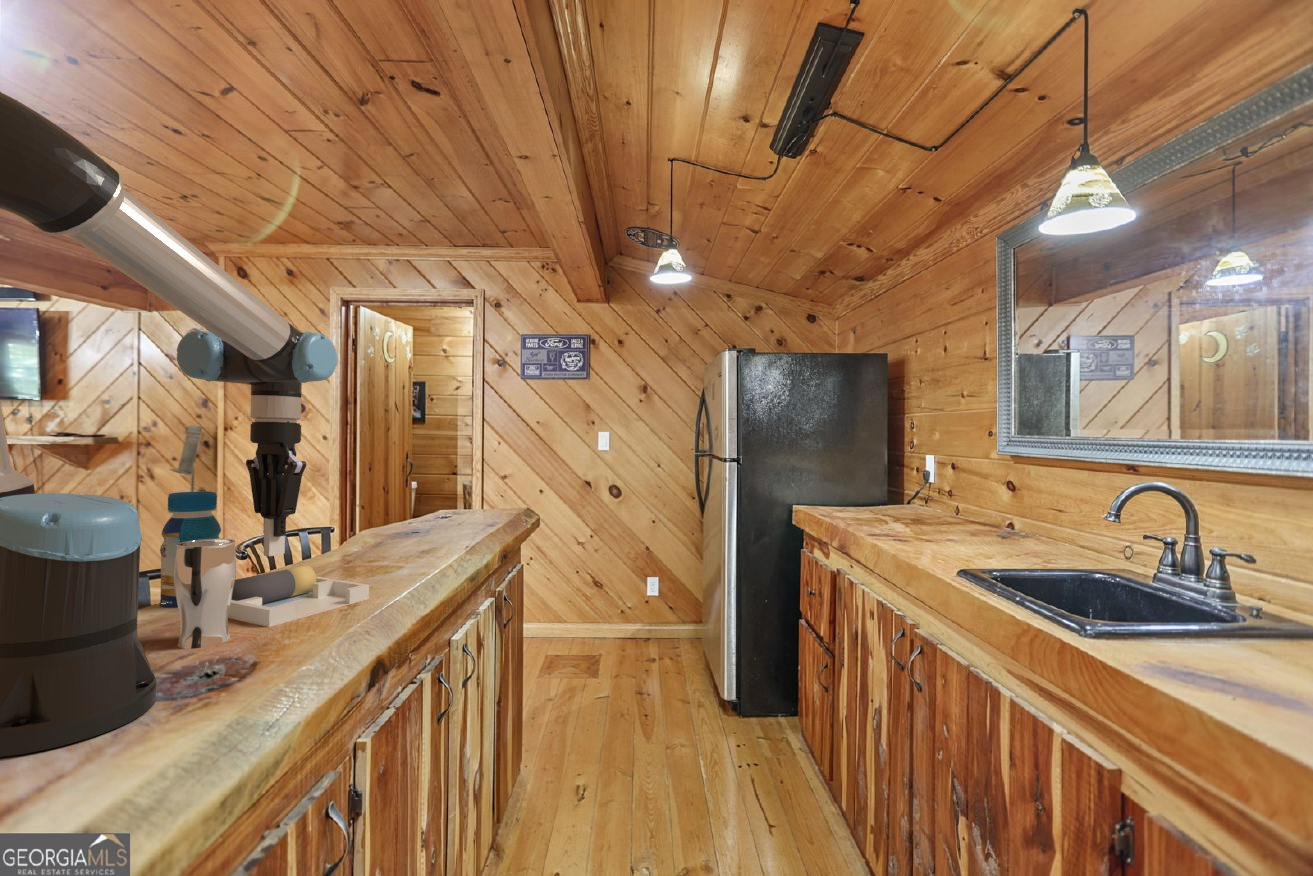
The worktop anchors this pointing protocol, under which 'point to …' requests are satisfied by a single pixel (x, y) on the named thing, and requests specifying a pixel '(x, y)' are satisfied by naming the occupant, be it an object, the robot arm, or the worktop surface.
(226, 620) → the beer glass
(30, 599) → the robot arm
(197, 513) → the beverage bottle
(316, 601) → the beige holder tray
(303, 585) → the battery-shaped cylinder
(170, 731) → the worktop surface
